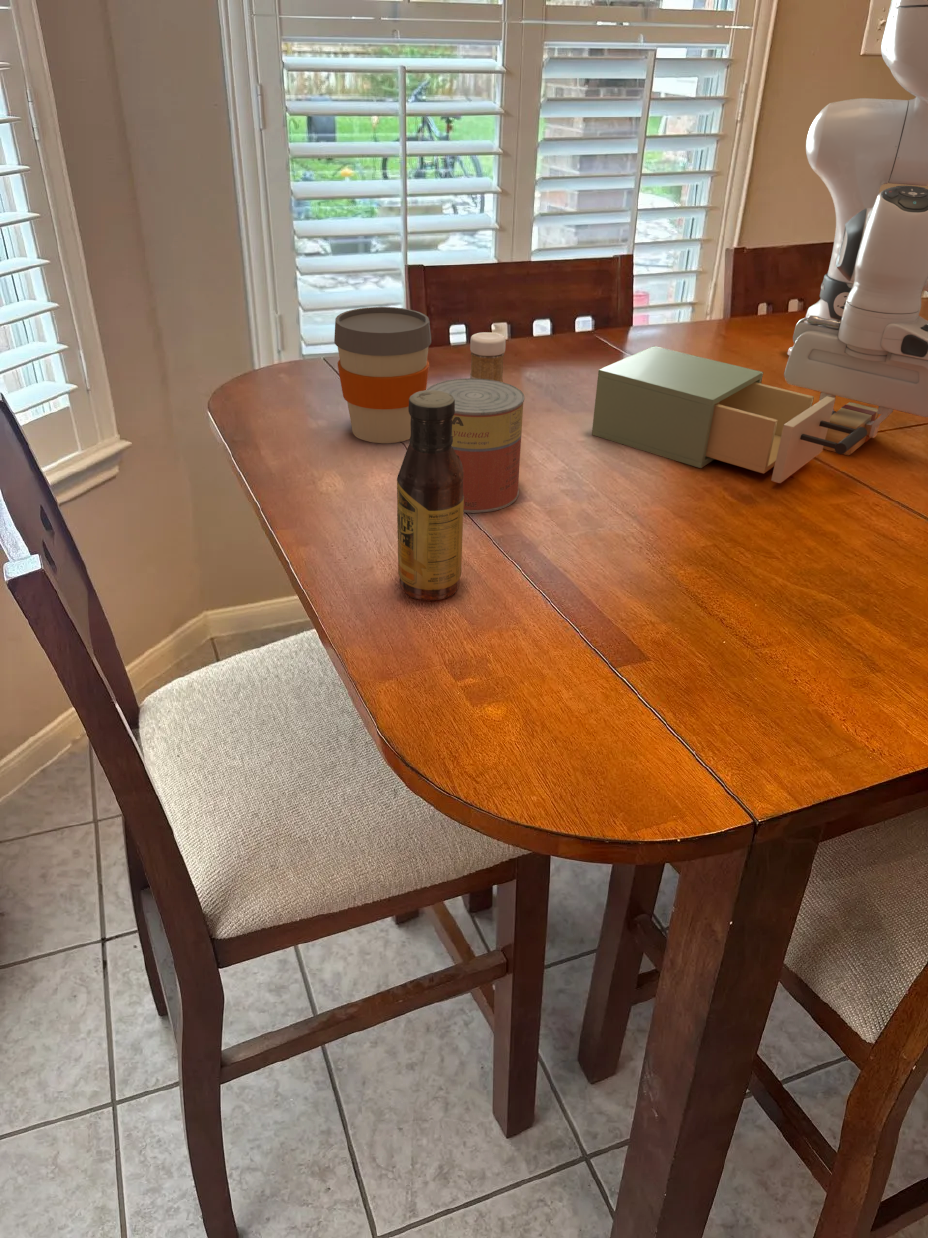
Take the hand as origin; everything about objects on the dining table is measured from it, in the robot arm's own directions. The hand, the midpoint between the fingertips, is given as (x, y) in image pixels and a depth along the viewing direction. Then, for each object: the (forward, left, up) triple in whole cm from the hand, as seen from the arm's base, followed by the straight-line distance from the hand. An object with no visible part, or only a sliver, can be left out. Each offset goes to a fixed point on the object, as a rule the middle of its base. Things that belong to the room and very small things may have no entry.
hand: (849, 430), depth 125 cm
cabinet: (+15, -19, -2) cm, 24 cm away
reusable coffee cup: (+40, -49, -2) cm, 63 cm away
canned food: (+47, -28, -2) cm, 55 cm away
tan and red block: (0, 0, -2) cm, 2 cm away
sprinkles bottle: (+32, -38, -2) cm, 50 cm away
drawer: (+14, -5, -1) cm, 15 cm away
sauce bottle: (+67, -17, -2) cm, 69 cm away
